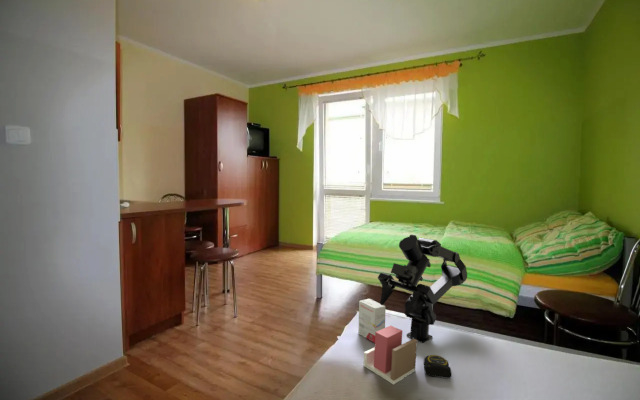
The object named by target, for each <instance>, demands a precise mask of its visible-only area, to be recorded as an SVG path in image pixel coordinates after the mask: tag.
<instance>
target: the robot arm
mask: <svg viewBox="0 0 640 400" xmlns="http://www.w3.org/2000/svg"><path fill="white" fill-rule="evenodd" d="M398 247H399V249H400V251H401V252H402V254H403V255H404V257H405V258H406V260H407V261H408V263H407V265H406V264H404V265H402V264H398V263H395V262H394V263H393V264H392V267H391V270H390V273H391V274H389V273H386V272H380V273H379V274H378V275H377V279H378V280H379V283H380V284H381V295H380V301H379V303H380V304H381V305H385V303H386V302H387V300H388V299H389V298H390V297H391V296H392V294H393V293H394V289H395V288H399V289H402V290H405V291H408V292H412V294H411V295H409V296H408V298H407V300H406V301H405V304H404V310H405V311H404V315H405V316H406V317H407V318H409V319H411V324H410V331H409V332H408V333H407V334H406V336H407V337H409V338H411V339H416V340H417V342H419V343H422V344H423V343H425V342H427V341H430V340H431V339H433V335H431V334H429V331H430V326H431V325H432V326H433V325H435V323H436V319H437V315H436V313H435V312H434V307H433V306H434V305H435V304H436V303H437V302H438V301H439V300H440V299H441V298H442V297H443V296H444V295H445V294H446V293H447V292H448V291H449V290H450V289H451V288H453V287H457V286H458V287H459V286H461V285H462V284H463V283H465V282H466V280H467V278H468V272H467V271H468V270H467V266H466V265H465V263H464V261H462V260H461V257H460V253H458V252H457V251H453V250H451V249H448V248H446V247H444V246H442V244H441V242H440V241H438V240H437V239H430V238H425V237H419V238H418V237H417V235H415V234H409V236H407V237H404V238H403V239H401V240H400V241H399V243H398ZM428 256H429V257H434V258H440V259H442V260H443V261H442V263H441V265H440V269H441V276H440V278H438V279H437V280H436V281H435V282H433V284H431V286H429V285H426V284H423V283H419V281H420V282H422V281H423V280H424V278H423V275H424V273H425V271H426V269H427V268H431V267H432V265H431V261H430V259H429V257H428ZM447 262H451V263H454V265H455V266H453V265H451V264H450V265H449V264H447ZM392 274H394V275H395V278H396V279H397V280H396V279H394V277H393V275H392Z"/></svg>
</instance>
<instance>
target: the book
mask: <svg viewBox="0 0 640 400" xmlns="http://www.w3.org/2000/svg"><path fill="white" fill-rule="evenodd" d="M402 344H403V330H402V329H399V328H397V327H395V326H393V325H389V326H387V327H386V326H385V328H384V329H381V330H379V331H377V332H375V343H374V347H375V351H374V367H375V368H376V369H378V370H380V371H381V372H383V373H385V374H386V373H388V372H389V371H391V365H392V349H394V348H396V347H398V346H400V345H402Z"/></svg>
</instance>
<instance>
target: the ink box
mask: <svg viewBox="0 0 640 400" xmlns="http://www.w3.org/2000/svg"><path fill="white" fill-rule="evenodd" d="M384 328H386V305H385V304H383V305H381V304H380V302H378V301H375V300H374V299H372V298H365V299H362V300H361V299H360V300H359V302H358V335H360V336H362V337H364V338H365V339H367V340H369V341H371V342H372V343H374V344H375V332H377V331H379V330H381V329H384Z"/></svg>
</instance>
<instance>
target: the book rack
mask: <svg viewBox="0 0 640 400" xmlns="http://www.w3.org/2000/svg"><path fill="white" fill-rule="evenodd" d="M417 346H418V341H417V340H416V339H413V338H411V339H410V340H408V341H406V342H404V343H402V345H400V346H398V347H396V348H394V349H392V365H391V371H389V372H388V373H386V374H385V373H383V372H381V371H380V370H378V369H376V368H375V367H374V351H375V346H374V347H372V348H370V349H368V350H366V351H364V352H363V367H365V368H367V369H368V370H370V371H371V372H373V373H374V374H376V375H378V376H379V377H381V378H382V379H384V380H385V381H388V382H389V383H391V384H392V385H395V384H396V383H397V384H398V382H400V381H402V380H403V379H405V378H407V377H408V376H409V374H410V373H411V374H413V373H414V372H416V362H417V361H416V360H417ZM412 372H413V373H412ZM411 374H410V375H411ZM407 375H408V376H407ZM404 377H405V378H404Z"/></svg>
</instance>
